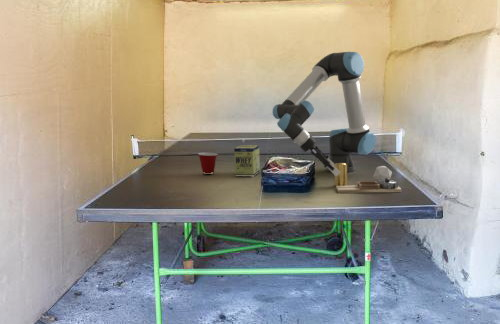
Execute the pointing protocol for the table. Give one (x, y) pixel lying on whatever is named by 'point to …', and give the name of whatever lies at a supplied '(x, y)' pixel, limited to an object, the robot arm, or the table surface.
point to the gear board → (365, 188)
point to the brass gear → (341, 174)
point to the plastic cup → (207, 161)
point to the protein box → (247, 160)
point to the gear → (388, 184)
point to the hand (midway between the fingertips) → (337, 171)
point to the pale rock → (382, 173)
